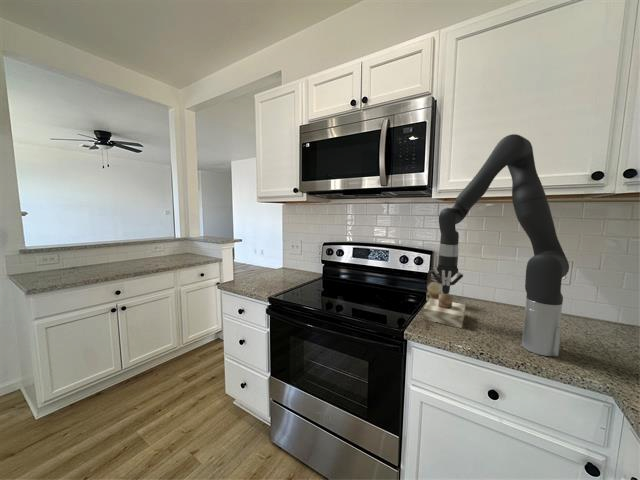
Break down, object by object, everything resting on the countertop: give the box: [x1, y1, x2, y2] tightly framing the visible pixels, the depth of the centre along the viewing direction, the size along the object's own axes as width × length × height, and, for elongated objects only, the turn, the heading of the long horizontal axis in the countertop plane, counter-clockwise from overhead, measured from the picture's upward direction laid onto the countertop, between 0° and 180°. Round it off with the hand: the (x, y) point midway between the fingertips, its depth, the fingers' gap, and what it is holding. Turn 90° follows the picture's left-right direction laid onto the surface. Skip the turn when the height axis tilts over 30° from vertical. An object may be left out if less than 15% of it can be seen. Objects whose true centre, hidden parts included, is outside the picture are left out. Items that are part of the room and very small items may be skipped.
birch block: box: [422, 298, 466, 329], centre depth 116 cm, size 15×16×5 cm
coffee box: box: [425, 269, 450, 302], centre depth 135 cm, size 9×6×16 cm
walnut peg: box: [438, 293, 453, 309], centre depth 116 cm, size 5×5×10 cm
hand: (445, 293), depth 115 cm, fingers closed
